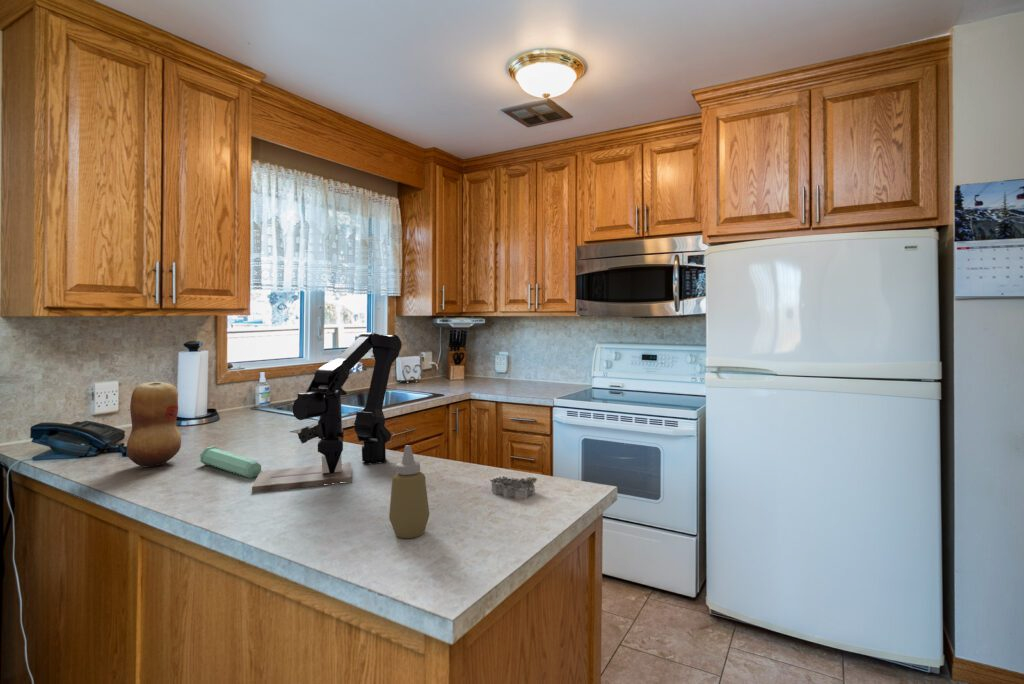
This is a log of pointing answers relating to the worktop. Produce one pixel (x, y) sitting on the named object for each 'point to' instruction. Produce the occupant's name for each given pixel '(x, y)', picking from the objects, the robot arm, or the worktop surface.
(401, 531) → the squeeze bottle
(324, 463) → the fader knob
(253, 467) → the container
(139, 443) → the butternut squash
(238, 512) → the worktop surface
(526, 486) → the egg carton
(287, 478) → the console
